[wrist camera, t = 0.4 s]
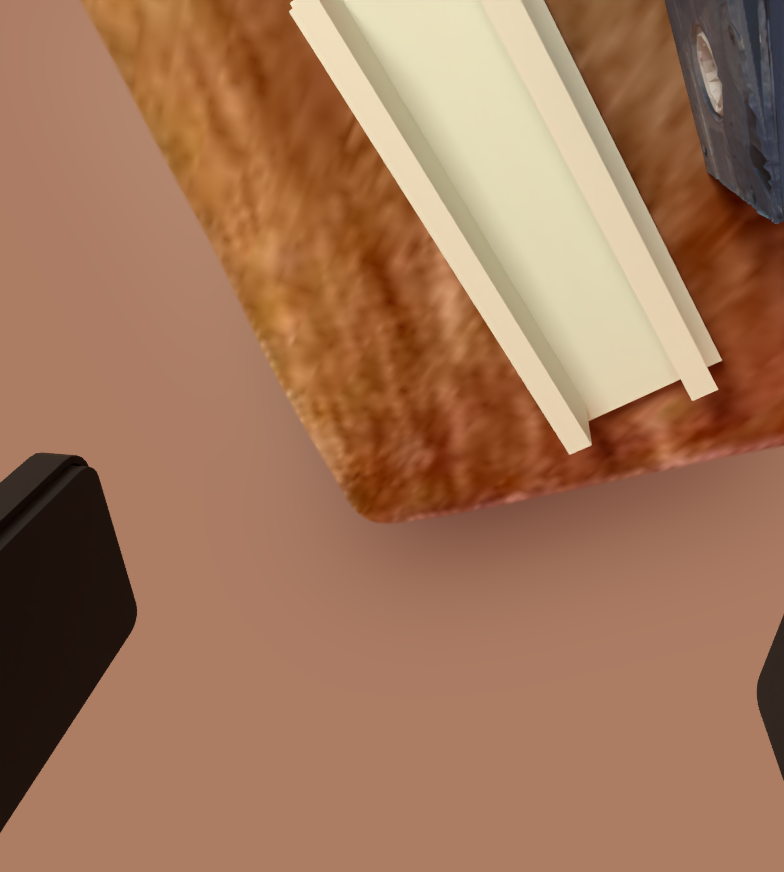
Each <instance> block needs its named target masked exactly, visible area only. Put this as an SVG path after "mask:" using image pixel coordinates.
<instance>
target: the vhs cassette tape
mask: <svg viewBox="0 0 784 872" xmlns="http://www.w3.org/2000/svg"><path fill="white" fill-rule="evenodd" d="M665 3H666V8H667V12H668V16H669V20H670V24H671V28H672V32H673V36H674V40H675V44H676V48H677V52H678V56H679V60H680V65H681V69H682V72H683V76H684V80H685V85H686V89H687V93H688V96H689V100H690V104H691V108H692V112H693V116H694V120H695V125H696V128H697V132H698V136H699V139H700V143H701V147H702V151H703V155H704V160H705V164H706V169H707V173H709V174H711V175H712V176H713V177H715V178H716V179H719V180H720V182H721V183H722V184H723V185H724V186H726V187H727V188H728V189H729V190H731V191H732V192H734V193H736V194H737V195H738V196H739V197H740V198H741V199H742V200H744V201H746V202H748V203H747V204H750V205H751V206H752V207H753V208H754V209H756V210H757V213H758V214H760V215H762V216H764V217H766V218H768V219H771V220H772V221H771V222H773V223H775V224H780V223H781V222H783V221H784V0H665Z"/></svg>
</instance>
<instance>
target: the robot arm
mask: <svg viewBox="0 0 784 872" xmlns="http://www.w3.org/2000/svg"><path fill="white" fill-rule="evenodd" d="M136 616H137V606H136V602H135V598H134V595H133V591H132V588H131V585H130V581H129V578H128V575H127V571H126V568H125V564H124V561H123V558H122V554H121V551H120V547H119V544H118V541H117V537H116V534H115V531H114V527H113V524H112V520H111V517H110V513H109V510H108V507H107V503H106V500H105V497H104V493H103V490H102V486H101V483H100V480H99V476H98V474H97V472H96V471H95V470H94V469H93V468H91V467H89V466H88V464H87V462H86V461H85V460H84V459H83V458H82V457H79V456H77V455H65V454H53V453H36V454H34V455H33V456H31V457H29V458H28V459H27V460H26V461H25V462H24V463H23V464H21V465H20V466H19V467H18V468H17V469H16V470H14V471H13V472H12V473H11V474H10V475H9V476H8V477H6V478H5V479H4V480H3V481H2V482H1V483H0V832H1V831H2V829H3V827H4V826H5V824H6V823H7V821H8V820H9V818H10V817H11V815H12V814H13V812H14V811H15V809H16V808H17V806H18V805H19V803H20V801H21V800H22V798H23V797H24V795H25V794H26V792H27V791H28V789H29V788H30V786H31V785H32V783H33V781H34V780H35V778H36V777H37V775H38V774H39V772H40V771H41V769H42V768H43V766H44V765H45V763H46V762H47V760H48V759H49V757H50V755H51V754H52V752H53V751H54V749H55V748H56V746H57V745H58V743H59V742H60V740H61V739H62V737H63V735H64V734H65V733H66V731H67V729H68V728H69V727H70V725H71V723H72V722H73V720H74V719H75V717H76V716H77V714H78V713H79V711H80V710H81V708H82V707H83V705H84V704H85V702H86V700H87V699H88V697H89V696H90V694H91V693H92V691H93V690H94V688H95V687H96V685H97V683H98V682H99V680H100V679H101V677H102V676H103V674H104V673H105V671H106V670H107V668H108V667H109V665H110V663H111V662H112V661H113V659H114V658H115V656H116V654H117V653H118V651H119V650H120V648H121V647H122V645H123V644H124V642H125V640H126V639H127V638H128V636H129V635H130V633H131V631H132V629H133V627H134V625H135V621H136ZM757 700H758V706H759V710H760V713H761V716H762V718H763V721H764V724H765V728H766V731H767V733H768V736H769V739H770V742H771V745H772V748H773V751H774V754H775V757H776V760H777V763H778V765H779V768H780V771H781V774H782V777H783V780H784V616H783V618H782V620H781V623H780V626H779V628H778V631H777V633H776V636H775V638H774V641H773V643H772V646H771V648H770V651H769V653H768V656H767V659H766V661H765V664H764V666H763V669H762V671H761V674H760V676H759V680H758V684H757Z"/></svg>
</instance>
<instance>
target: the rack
mask: <svg viewBox="0 0 784 872" xmlns="http://www.w3.org/2000/svg"><path fill="white" fill-rule="evenodd" d="M290 5H291V6H292V9H291V10H290V11H289V12H290V14H291V16H292V17H293V19H294V20H295V22H296V24H297V25H298V27H299V28H300V30H301V31H302V33H303V35H304V36H305V38H306V39H307V41H308V42H309V44H310V46H311V47H312V49H313V50H314V52H315V54H316V55H317V57H318V58H319V60H320V61H321V63H322V65H323V66H324V68H325V69H326V71H327V72H328V74H329V76H330V77H331V79H332V80H333V82H334V84H335V85H336V87H337V88H338V90H339V91H340V93H341V95H342V96H343V98H344V99H345V101H346V102H347V104H348V106H349V107H350V109H351V110H352V112H353V114H354V115H355V117H356V118H357V120H358V121H359V123H360V125H361V126H362V128H363V129H364V131H365V132H366V134H367V136H368V137H369V139H370V140H371V142H372V144H373V145H374V147H375V148H376V150H377V151H378V153H379V155H380V156H381V158H382V159H383V161H384V162H385V164H386V166H387V167H388V169H389V170H390V172H391V173H392V175H393V177H394V178H395V180H396V181H397V183H398V185H399V186H400V188H401V189H402V191H403V192H404V194H405V196H406V197H407V199H408V200H409V202H410V203H411V205H412V207H413V208H414V210H415V211H416V213H417V215H418V216H419V218H420V219H421V221H422V222H423V224H424V226H425V227H426V229H427V230H428V232H429V233H430V235H431V237H432V238H433V240H434V241H435V243H436V245H437V246H438V248H439V249H440V251H441V252H442V254H443V256H444V257H445V259H446V260H447V262H448V263H449V265H450V267H451V268H452V270H453V271H454V273H455V275H456V276H457V278H458V279H459V281H460V282H461V284H462V286H463V287H464V289H465V290H466V292H467V293H468V295H469V297H470V298H471V300H472V301H473V303H474V305H475V306H476V308H477V309H478V311H479V312H480V314H481V316H482V317H483V319H484V320H485V322H486V323H487V325H488V327H489V328H490V330H491V331H492V333H493V335H494V336H495V338H496V339H497V341H498V342H499V344H500V346H501V347H502V349H503V350H504V352H505V353H506V355H507V357H508V358H509V360H510V361H511V363H512V364H513V366H514V368H515V369H516V371H517V372H518V374H519V376H520V377H521V379H522V380H523V382H524V383H525V385H526V387H527V388H528V390H529V391H530V393H531V394H532V396H533V398H534V399H535V401H536V402H537V404H538V406H539V407H540V409H541V410H542V412H543V413H544V415H545V417H546V418H547V420H548V421H549V423H550V424H551V426H552V428H553V429H554V431H555V432H556V434H557V436H558V437H559V439H560V440H561V442H562V443H563V445H564V447H565V448H566V450H567V451H568V453H569V454H573V453H575V452H577V451H579V450H582V449H584V448H586V447H589V446H591V445H592V442H591V436H590V430H589V423H588V421H590V420H592V419H594V418H597V417H599V416H601V415H603V414H605V413H608V412H610V411H612V410H614V409H616V408H619V407H621V406H623V405H625V404H627V403H630V402H632V401H634V400H636V399H638V398H641V397H643V396H645V395H647V394H649V393H652V392H654V391H656V390H658V389H660V388H663V387H665V386H667V385H669V384H671V383H674V382H676V381H678V380H680V379H681V381H682V383H683V385H684V386H685V388H686V390H687V392H688V394H689V396H690V398H691V400H692V401H694V400H696V399H698V398H700V397H703V396H705V395H707V394H710V393H712V392H714V391H716V390H718V388H717V386H716V384H715V382H714V380H713V378H712V376H711V374H710V372H709V370H708V368H707V367H709V366H711V365H713V364H715V363H718V362H720V361H722V359H721V357H720V355H719V353H718V351H717V349H716V347H715V345H714V343H713V341H712V339H711V337H710V335H709V333H708V331H707V329H706V327H705V325H704V323H703V321H702V319H701V317H700V315H699V313H698V311H697V309H696V307H695V305H694V303H693V301H692V299H691V297H690V295H689V293H688V291H687V289H686V287H685V285H684V283H683V281H682V279H681V277H680V274H679V272H678V270H677V268H676V266H675V264H674V262H673V260H672V258H671V256H670V254H669V252H668V250H667V248H666V246H665V244H664V242H663V240H662V238H661V236H660V234H659V232H658V230H657V228H656V226H655V224H654V222H653V220H652V218H651V216H650V214H649V212H648V210H647V208H646V206H645V204H644V202H643V200H642V198H641V196H640V194H639V192H638V190H637V188H636V186H635V184H634V182H633V180H632V178H631V175H630V173H629V171H628V169H627V167H626V165H625V163H624V161H623V159H622V157H621V155H620V153H619V151H618V149H617V147H616V145H615V143H614V141H613V139H612V137H611V135H610V133H609V131H608V129H607V127H606V125H605V123H604V121H603V119H602V117H601V115H600V113H599V111H598V109H597V107H596V105H595V103H594V101H593V99H592V97H591V95H590V93H589V91H588V89H587V87H586V85H585V83H584V81H583V79H582V76H581V74H580V72H579V70H578V68H577V66H576V64H575V62H574V60H573V58H572V56H571V54H570V52H569V50H568V48H567V46H566V44H565V42H564V40H563V38H562V36H561V34H560V32H559V30H558V28H557V26H556V24H555V22H554V20H553V18H552V16H551V14H550V12H549V10H548V8H547V6H546V4H545V2H544V0H293V1H292V2H291V3H290Z"/></svg>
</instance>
